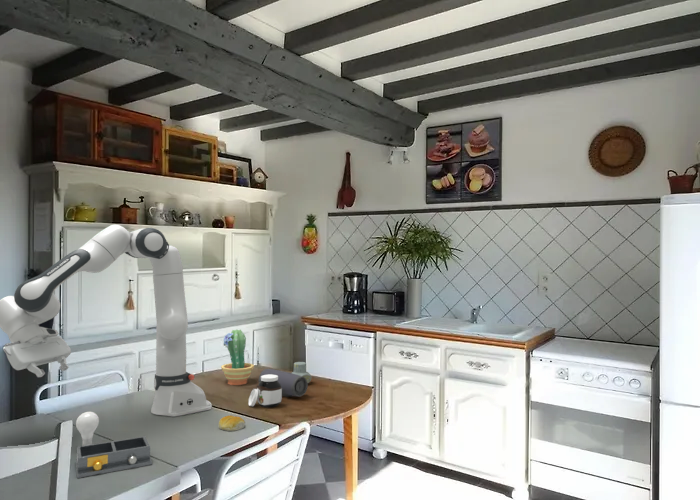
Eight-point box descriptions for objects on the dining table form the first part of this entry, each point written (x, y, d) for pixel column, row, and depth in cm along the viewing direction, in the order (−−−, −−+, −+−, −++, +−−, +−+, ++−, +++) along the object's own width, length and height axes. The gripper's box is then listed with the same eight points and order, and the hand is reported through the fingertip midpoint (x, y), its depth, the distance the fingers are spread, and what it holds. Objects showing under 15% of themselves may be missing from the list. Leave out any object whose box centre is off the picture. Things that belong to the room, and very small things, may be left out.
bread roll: (230, 422, 184) (230, 411, 184) (248, 427, 179) (248, 415, 179) (212, 428, 177) (213, 417, 177) (231, 433, 172) (231, 421, 172)
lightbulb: (88, 452, 154) (89, 415, 154) (70, 450, 155) (71, 414, 155) (103, 444, 160) (103, 409, 160) (85, 443, 161) (86, 408, 161)
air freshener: (303, 380, 246) (303, 360, 246) (314, 384, 240) (314, 362, 240) (285, 384, 239) (285, 363, 239) (295, 387, 232) (295, 366, 233)
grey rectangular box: (145, 450, 156) (145, 435, 156) (151, 464, 145) (152, 449, 145) (75, 462, 146) (76, 446, 146) (77, 478, 136) (77, 461, 136)
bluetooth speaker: (308, 397, 217) (309, 373, 217) (292, 401, 210) (293, 377, 210) (273, 387, 232) (273, 366, 232) (257, 391, 225) (257, 369, 225)
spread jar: (284, 405, 204) (284, 376, 204) (261, 411, 196) (262, 381, 196) (266, 400, 212) (266, 372, 212) (243, 405, 204) (243, 376, 204)
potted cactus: (223, 379, 247) (223, 327, 248) (255, 378, 249) (255, 327, 250) (218, 387, 232) (219, 332, 232) (252, 386, 234) (253, 332, 234)
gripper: (6, 337, 152) (32, 372, 150) (60, 329, 172) (83, 359, 170) (-6, 351, 153) (19, 386, 151) (48, 341, 173) (72, 372, 171)
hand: (54, 372), depth 161 cm, fingers open, 8 cm apart
